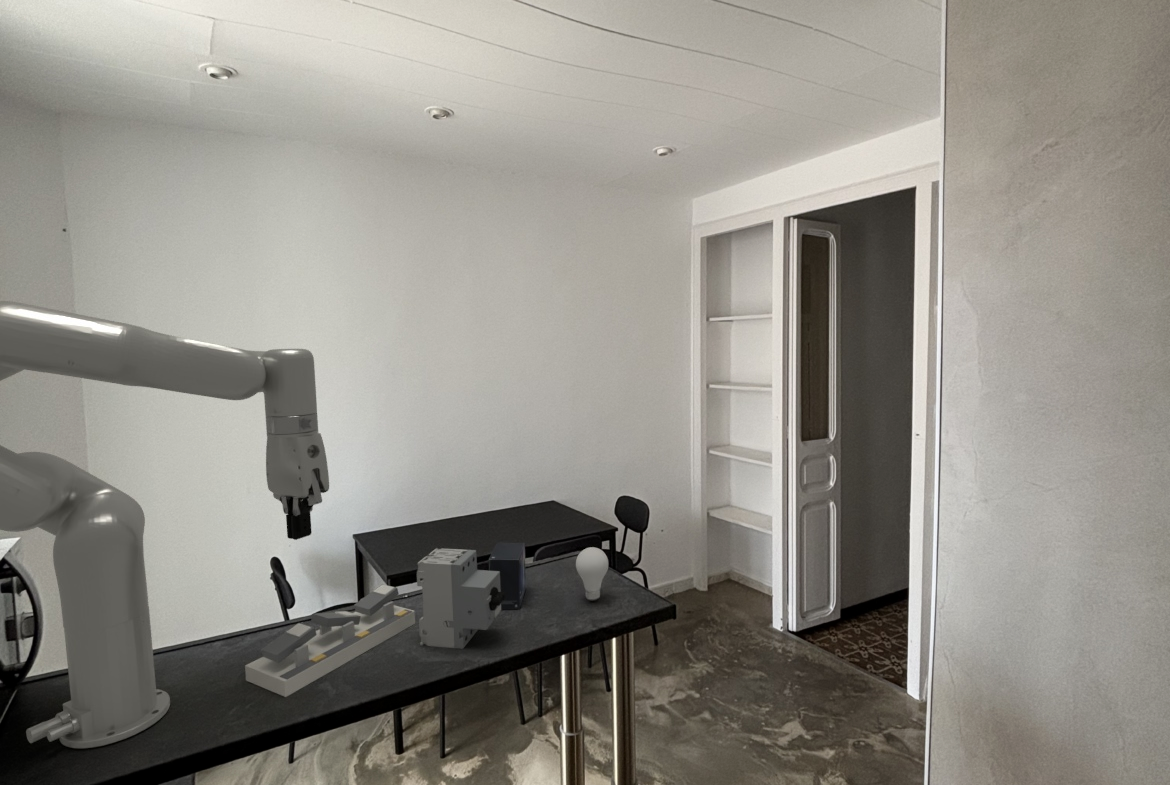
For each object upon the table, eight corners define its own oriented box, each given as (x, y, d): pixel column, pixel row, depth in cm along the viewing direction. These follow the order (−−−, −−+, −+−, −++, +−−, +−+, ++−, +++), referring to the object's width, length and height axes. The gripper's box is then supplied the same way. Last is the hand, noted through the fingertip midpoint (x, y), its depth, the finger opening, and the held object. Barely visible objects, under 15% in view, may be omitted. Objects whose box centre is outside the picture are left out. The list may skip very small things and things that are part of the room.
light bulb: (579, 593, 128) (578, 542, 127) (610, 594, 127) (609, 543, 126) (574, 607, 121) (573, 553, 120) (607, 608, 120) (606, 554, 120)
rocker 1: (278, 662, 95) (276, 654, 94) (263, 656, 96) (260, 648, 96) (316, 634, 100) (314, 626, 100) (301, 629, 102) (298, 621, 102)
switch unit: (285, 697, 92) (283, 663, 92) (246, 680, 97) (243, 648, 97) (415, 623, 116) (414, 596, 115) (378, 613, 121) (376, 587, 120)
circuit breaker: (496, 651, 105) (493, 566, 103) (420, 645, 108) (416, 562, 106) (510, 631, 112) (507, 551, 111) (438, 625, 115) (435, 548, 114)
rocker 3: (370, 616, 110) (368, 608, 110) (355, 611, 112) (353, 604, 112) (398, 594, 116) (397, 586, 116) (383, 590, 118) (382, 583, 118)
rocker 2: (326, 627, 102) (328, 617, 102) (310, 622, 104) (313, 612, 104) (358, 624, 108) (360, 615, 108) (343, 619, 110) (345, 610, 110)
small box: (521, 610, 121) (519, 558, 120) (488, 610, 121) (486, 559, 120) (527, 588, 131) (525, 541, 130) (497, 589, 131) (495, 541, 130)
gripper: (343, 424, 98) (349, 536, 99) (284, 420, 105) (291, 524, 106) (301, 431, 91) (309, 550, 93) (241, 426, 98) (249, 537, 100)
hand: (299, 536), depth 99 cm, fingers closed
